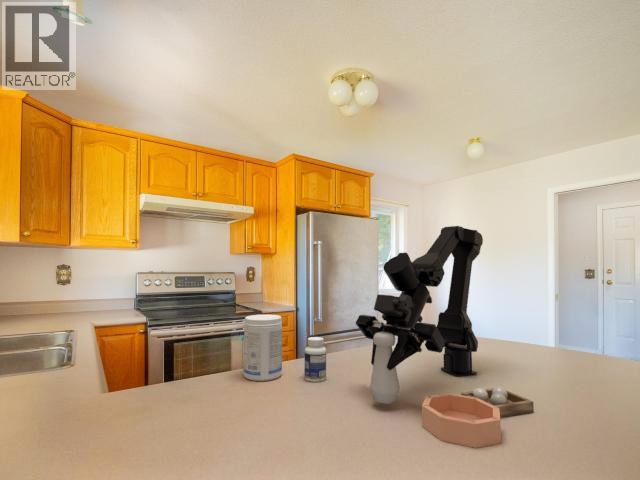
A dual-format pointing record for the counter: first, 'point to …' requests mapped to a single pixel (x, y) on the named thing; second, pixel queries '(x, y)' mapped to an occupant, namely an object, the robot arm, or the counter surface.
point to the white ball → (500, 391)
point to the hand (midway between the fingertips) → (380, 366)
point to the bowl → (461, 420)
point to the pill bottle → (315, 360)
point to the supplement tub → (262, 347)
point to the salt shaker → (384, 370)
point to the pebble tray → (509, 404)
